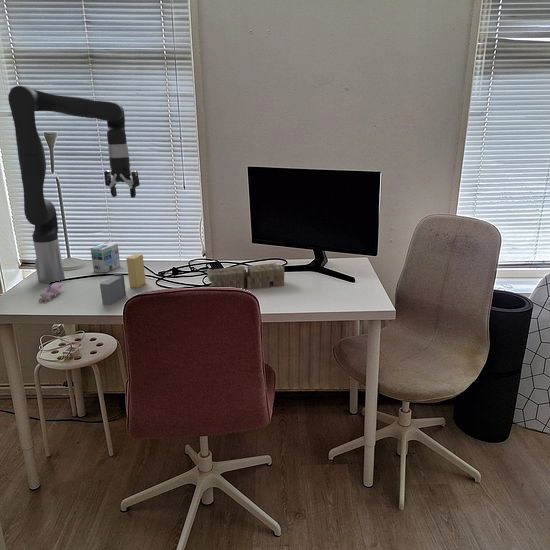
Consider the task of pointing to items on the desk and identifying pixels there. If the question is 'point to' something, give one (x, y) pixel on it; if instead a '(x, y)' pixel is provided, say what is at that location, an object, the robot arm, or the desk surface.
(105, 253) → the light bulb box
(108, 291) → the blue-grey block
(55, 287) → the rabbit figure
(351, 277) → the desk surface
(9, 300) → the desk surface
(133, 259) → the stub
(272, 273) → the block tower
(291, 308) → the desk surface
